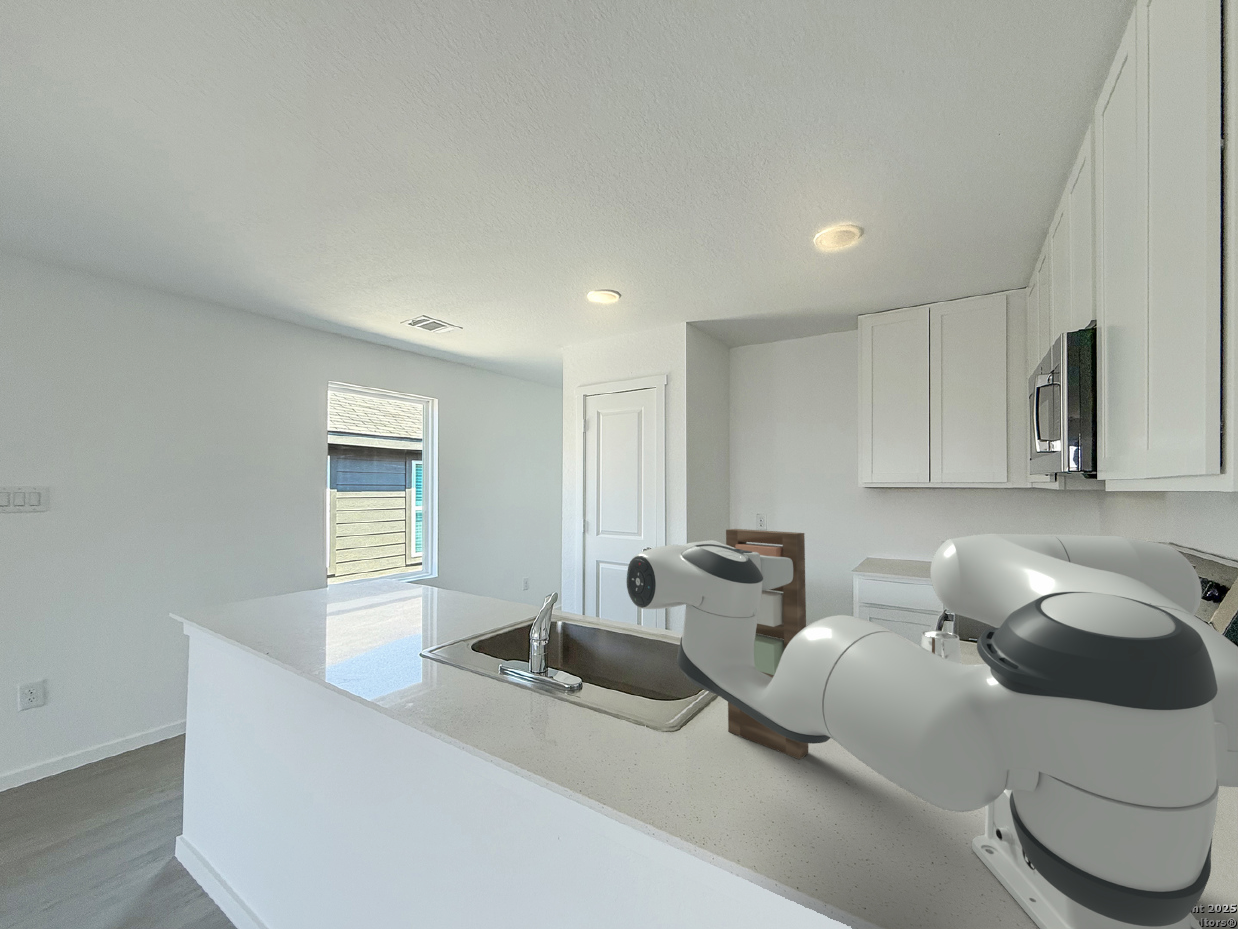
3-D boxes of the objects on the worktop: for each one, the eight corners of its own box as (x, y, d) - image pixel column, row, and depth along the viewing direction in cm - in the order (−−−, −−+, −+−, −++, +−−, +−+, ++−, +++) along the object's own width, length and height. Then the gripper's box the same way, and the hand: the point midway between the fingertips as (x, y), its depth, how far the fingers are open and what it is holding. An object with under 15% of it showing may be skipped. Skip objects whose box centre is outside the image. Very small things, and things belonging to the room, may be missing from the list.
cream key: (773, 626, 89) (773, 596, 89) (733, 618, 95) (732, 590, 95) (785, 622, 92) (785, 593, 92) (745, 614, 97) (745, 587, 98)
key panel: (799, 759, 88) (795, 534, 89) (728, 731, 98) (726, 529, 99) (808, 753, 90) (804, 533, 91) (737, 726, 100) (735, 528, 101)
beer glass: (969, 718, 103) (966, 640, 103) (929, 715, 104) (927, 638, 105) (954, 704, 110) (951, 630, 110) (917, 701, 111) (915, 629, 112)
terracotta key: (776, 578, 90) (775, 548, 90) (735, 572, 96) (735, 544, 96) (787, 575, 93) (787, 546, 93) (747, 570, 99) (747, 543, 99)
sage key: (774, 675, 89) (773, 645, 89) (733, 664, 94) (733, 635, 95) (786, 669, 91) (785, 640, 92) (746, 659, 97) (745, 631, 97)
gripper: (658, 581, 91) (706, 572, 100) (765, 599, 76) (810, 586, 86) (657, 544, 91) (706, 538, 101) (764, 554, 76) (809, 547, 86)
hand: (754, 560), depth 93 cm, fingers closed, pressing on terracotta key
